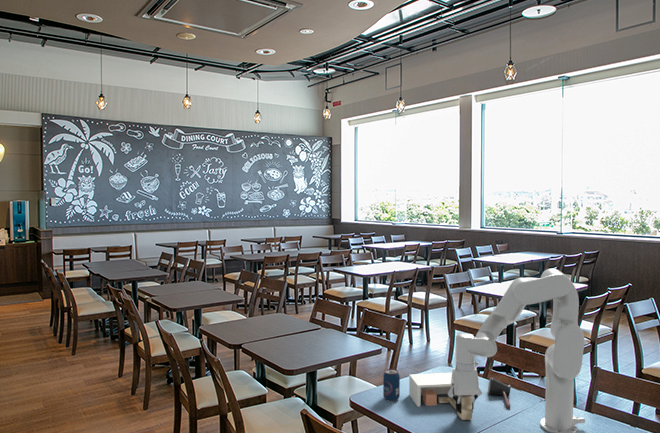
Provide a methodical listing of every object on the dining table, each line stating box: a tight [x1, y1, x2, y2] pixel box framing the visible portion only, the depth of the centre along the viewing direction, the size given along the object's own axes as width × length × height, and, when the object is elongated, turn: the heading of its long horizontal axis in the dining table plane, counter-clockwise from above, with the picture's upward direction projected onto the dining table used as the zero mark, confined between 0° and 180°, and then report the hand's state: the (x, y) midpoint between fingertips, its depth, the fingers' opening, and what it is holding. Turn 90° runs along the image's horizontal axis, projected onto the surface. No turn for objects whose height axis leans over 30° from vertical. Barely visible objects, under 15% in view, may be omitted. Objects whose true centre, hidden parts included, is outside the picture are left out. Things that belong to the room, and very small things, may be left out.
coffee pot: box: [487, 376, 511, 410], centre depth 206 cm, size 8×18×8 cm
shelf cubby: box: [408, 372, 455, 408], centre depth 206 cm, size 20×12×9 cm, turn 97°
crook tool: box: [437, 395, 473, 421], centre depth 195 cm, size 7×17×9 cm, turn 8°
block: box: [422, 390, 438, 406], centre depth 203 cm, size 4×4×4 cm
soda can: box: [382, 368, 401, 402], centre depth 206 cm, size 7×7×12 cm
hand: (464, 411), depth 189 cm, fingers closed on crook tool, 4 cm apart
